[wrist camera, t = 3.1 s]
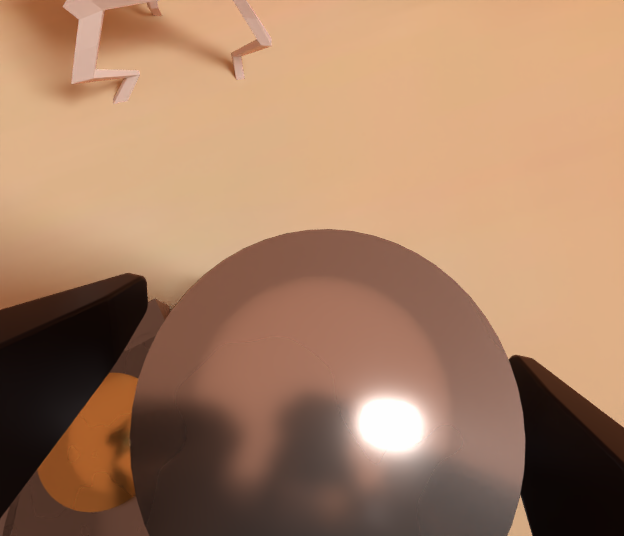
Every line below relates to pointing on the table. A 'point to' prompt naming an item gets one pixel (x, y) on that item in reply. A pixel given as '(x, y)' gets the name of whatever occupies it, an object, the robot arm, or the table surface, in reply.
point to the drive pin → (327, 400)
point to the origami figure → (90, 11)
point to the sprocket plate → (91, 459)
